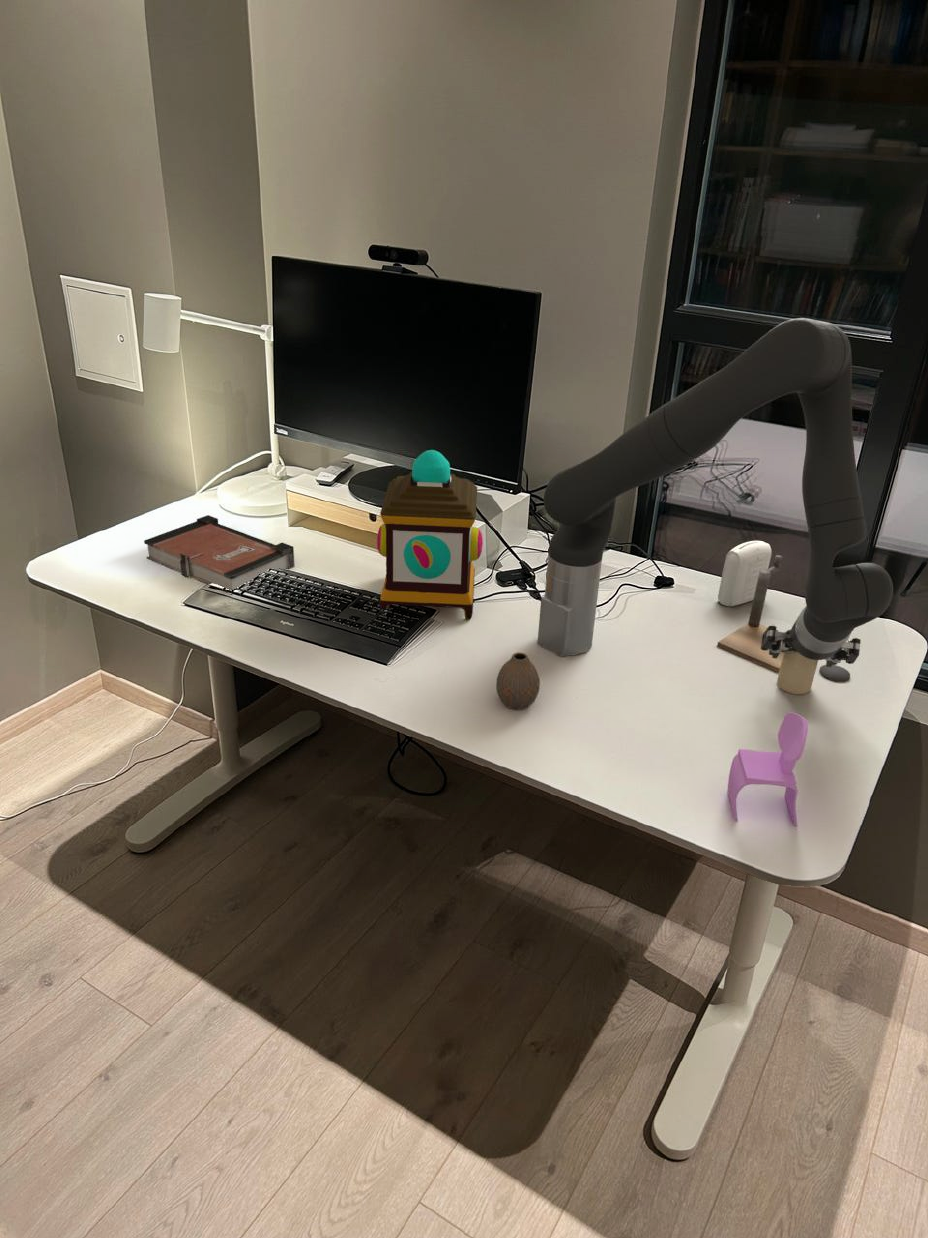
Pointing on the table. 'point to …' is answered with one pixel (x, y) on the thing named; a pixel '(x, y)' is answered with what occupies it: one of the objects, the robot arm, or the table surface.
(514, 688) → the vase
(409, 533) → the decorative lantern
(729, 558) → the photo printer
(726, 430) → the robot arm
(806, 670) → the candle
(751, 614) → the stand with wooden base
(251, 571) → the book
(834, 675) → the pad
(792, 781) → the toy chair
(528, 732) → the table surface
